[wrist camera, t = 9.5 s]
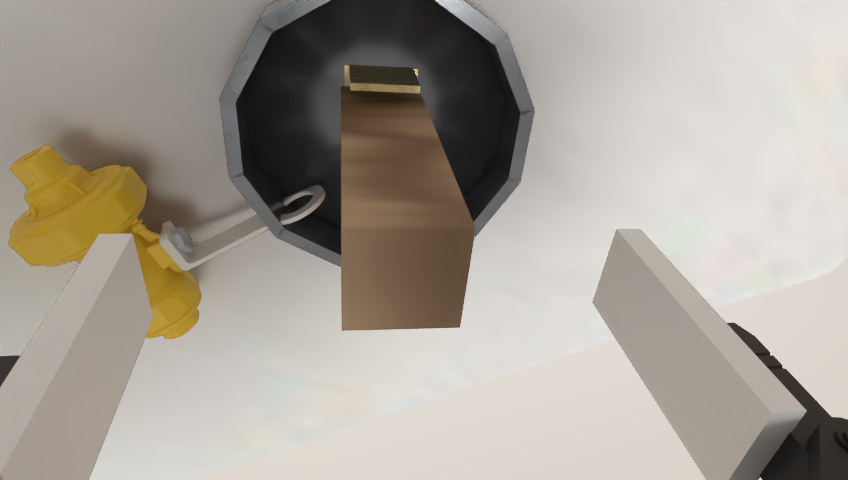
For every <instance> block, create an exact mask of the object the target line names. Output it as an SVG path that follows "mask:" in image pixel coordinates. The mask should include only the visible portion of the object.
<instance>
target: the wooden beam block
mask: <svg viewBox="0 0 848 480" xmlns="http://www.w3.org/2000/svg"><path fill="white" fill-rule="evenodd" d="M474 235H475V225H474V223H473V220H472V218H471V216H470V213H469V211H468V208H467V206H466V203H465V201H464V198H463V196H462V193H461V191H460V188H459V186H458V184H457V181H456V179H455V176H454V174H453V171H452V169H451V166H450V164H449V161H448V159H447V157H446V154H445V152H444V149H443V147H442V144H441V142H440V139H439V137H438V134H437V132H436V129H435V127H434V125H433V122H432V120H431V117H430V115H429V112H428V110H427V107H426V105H425V102H424V100H423V98H422V95H421V93H400V92H377V91H354V90H350V86H341V283H342V331H343V330H381V329H419V328H457V327H460V323H461V316H462V310H463V304H464V297H465V291H466V285H467V279H468V272H469V266H470V260H471V253H472V247H473V241H474Z"/></svg>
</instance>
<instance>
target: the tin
mask: <svg viewBox="0 0 848 480" xmlns="http://www.w3.org/2000/svg"><path fill="white" fill-rule="evenodd" d="M341 86H350V90H354V91H377V92H400V93H421V95H422V98H423V100H424V102H425V105H426V107H427V110H428V112H429V115H430V117H431V120H432V122H433V125H434V127H435V129H436V132H437V134H438V137H439V139H440V142H441V144H442V147H443V149H444V152H445V154H446V157H447V159H448V161H449V164H450V166H451V169H452V171H453V174H454V176H455V179H456V181H457V184H458V186H459V188H460V191H461V193H462V196H463V198H464V201H465V203H466V206H467V208H468V211H469V213H470V216H471V218H472V220H473V223H474V225H475V235H474V236H475V237H476V236H477V234H478V233H479V232H480V231H481V230H482V228H483V227H484V226H485V225H486V224H487V222H488V221H489V220H490V219H491V217H492V216H493V215H494V214H495V213H496V211H497V210H498V209H499V208H500V207H501V205H502V204H503V203H504V202H505V201H506V199H507V198H508V197H509V196H510V194H511V193H512V192H513V191H514V190H515V188H516V187H517V186H518V185H519V184H520V183H519V182H520V181H521V176H522V171H523V166H524V161H525V156H526V152H527V147H528V142H529V137H530V132H531V127H532V122H533V117H534V112H535V111H534V107H533V104H532V101H531V98H530V95H529V93H528V90H527V87H526V84H525V81H524V79H523V76H522V73H521V70H520V68H519V65H518V62H517V59H516V56H515V54H514V51H513V48H512V45H511V43H510V40H509V37H508V35H507V34H506V33H505V32H504V31H503V30H502V29H500V28H499V27H498V26H497V25H496V24H494V23H493V22H492V21H491V20H490V19H489V18H487V17H486V16H485V15H483V14H482V13H481V12H479V11H478V10H477V9H475V8H474V7H473V6H472V5H470V4H469V3H468V2H466V1H465V0H276V1H274V2H272V3H270V4H269V5H268V6H267V7H266V9H265V11H264V12H263V14H262V15H261V17H260V19H259V20H258V22H257V24H256V26H255V28H254V30H253V32H252V34H251V36H250V38H249V40H248V42H247V44H246V46H245V48H244V50H243V52H242V54H241V56H240V58H239V60H238V62H237V64H236V66H235V68H234V70H233V71H232V73H231V75H230V77H229V79H228V81H227V83H226V85H225V87H224V89H223V91H222V93H221V95H220V98H219V100H220V108H221V116H222V125H223V133H224V141H225V149H226V157H227V166H228V174H229V177H230V180H231V181H232V182H233V183H234V185H235V186H236V187H237V189H238V190H239V191H240V192H241V194H242V195H243V196H244V198H245V199H246V200H247V201H248V203H249V204H250V205H251V207H252V208H253V209H254V210H255V212H256V213H257V214H258V216H259V217H260V218H261V219H262V221H263V222H264V223H265V225H266V226H267V227H268V228H269V230H270V231H271V232H272V233H273V235H274V236H276V238H278V239H280V240H283V241H285V242H287V243H289V244H291V245H294V246H296V247H298V248H300V249H302V250H305V251H307V252H309V253H311V254H313V255H316V256H318V257H320V258H322V259H324V260H326V261H329V262H331V263H333V264H335V265H337V266H340V267H341ZM313 185H320V186H321V187H322V188H323V189H324V191H325V198H324V200H323V201H322V203H321V204H320V205H319V206H318V207H317V208H316V209H315V210H314V211H313V212H311V213H310V214H308V215H307V216H305V217H303V218H301V219H300V220H298V221H295V222H292V223H290V224H285V225H282V223H281V222H280V218H281V214H289V213H293V212H295V211H297V210H299V209H301V208H302V207H304V206H305V205H306V204H307V203H308V202H310V200H311V199H312V197H313V195H304V196H301V197H299V198H297V199H295V200H293V201H292V202H290V203H289V204H288V205H287V206H286V205H285V204H284V198H285V197H288V196H290V195H292V194H295V193H297V192H299V191H302V190H304V189H306V188H309V187H311V186H313Z"/></svg>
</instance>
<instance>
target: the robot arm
mask: <svg viewBox="0 0 848 480" xmlns="http://www.w3.org/2000/svg"><path fill="white" fill-rule="evenodd" d="M593 304H594V306H595V307H596V309H597V310H598V312H599V313H600V315H601V316H602V318H603V320H604V321H605V323H606V324H607V326H608V327H609V329H610V330H611V332H612V334H613V335H614V337H615V338H616V340H617V341H618V343H619V344H620V346H621V347H622V349H623V351H624V352H625V354H626V355H627V357H628V359H629V360H630V362H631V363H632V365H633V366H634V368H635V369H636V371H637V372H638V374H639V376H640V377H641V379H642V380H643V382H644V384H645V385H646V387H647V388H648V390H649V391H650V393H651V394H652V396H653V397H654V399H655V401H656V402H657V404H658V405H659V407H660V408H661V410H662V412H663V413H664V415H665V416H666V418H667V419H668V421H669V422H670V424H671V426H672V427H673V429H674V430H675V432H676V433H677V435H678V437H679V438H680V440H681V441H682V443H683V444H684V446H685V447H686V449H687V450H688V452H689V454H690V455H691V457H692V458H693V460H694V462H695V463H696V465H697V466H698V468H699V469H700V471H701V472H702V474H703V475H704V477H705V479H706V480H758V479H759V478H760V477H761V478H762V480H848V420H847V419H843V418H835V417H831V416H830V415H829V414H828V413H827V412H826V411H825V410H824V409H823V408H822V407H821V406H820V404H819V403H818V402H817V401H816V400H815V399H814V398H813V397H812V396H811V395H810V394H809V393H808V392H807V391H806V390H805V389H804V388H803V387H802V386H801V385H800V384H799V382H798V381H797V380H796V379H795V378H794V377H793V376H792V375H791V374H790V373H789V372H788V371H787V370H786V369H783V368H782V365H781V363H779V361H778V360H777V359H776V358H775V357H774V356H770V352H769V351H768V350H767V349H766V348H765V347H764V346H763V345H762V344H761V342H760V341H759V340H758V339H757V338H756V337H755V336H753V335H752V334H750V333H749V332H747V331H746V330H744V329H743V328H741V327H740V326H738V325H737V324H735V323H726V322H725V321H724V320H723V319H722V318H721V317H720V316H719V314H718V313H717V312H716V311H715V310H714V309H713V308H712V307H711V306H710V305H709V303H708V302H707V301H706V300H705V299H704V298H703V297H702V296H701V295H700V294H699V293H698V291H697V290H696V289H695V288H694V287H693V286H692V285H691V284H690V283H689V282H688V281H687V279H686V278H685V277H684V276H683V275H682V274H681V273H680V272H679V271H678V270H677V269H676V267H675V266H674V265H673V264H672V263H671V262H670V261H669V260H668V259H667V258H666V257H665V255H664V254H663V253H662V252H661V251H660V250H659V249H658V248H657V247H656V246H655V245H654V243H653V242H652V241H651V240H650V239H649V238H648V237H647V236H646V235H645V234H644V233H643V231H642V230H641V229H616V232H615V235H614V238H613V241H612V244H611V247H610V250H609V254H608V257H607V260H606V263H605V266H604V269H603V272H602V275H601V278H600V281H599V284H598V287H597V290H596V293H595V296H594V299H593ZM152 319H153V314H152V310H151V306H150V302H149V298H148V294H147V290H146V286H145V282H144V278H143V274H142V270H141V266H140V262H139V257H138V253H137V249H136V245H135V241H134V237H133V234H99V235H98V237H97V238H96V240H95V241H94V243H93V244H92V246H91V247H90V249H89V251H88V252H87V254H86V255H85V257H84V258H83V260H82V261H81V263H80V265H79V266H78V268H77V269H76V271H75V272H74V274H73V275H72V277H71V278H70V280H69V282H68V283H67V285H66V286H65V288H64V289H63V291H62V292H61V294H60V295H59V297H58V299H57V300H56V302H55V303H54V305H53V306H52V308H51V309H50V311H49V312H48V314H47V316H46V317H45V319H44V320H43V322H42V323H41V325H40V326H39V328H38V329H37V331H36V333H35V334H34V336H33V337H32V339H31V340H30V342H29V343H28V345H27V347H26V348H25V350H24V351H23V353H22V354H21V356H0V480H89V478H90V476H91V473H92V470H93V468H94V465H95V463H96V460H97V458H98V455H99V453H100V450H101V448H102V445H103V443H104V440H105V438H106V435H107V433H108V430H109V428H110V425H111V423H112V420H113V418H114V415H115V413H116V410H117V407H118V405H119V402H120V400H121V397H122V395H123V392H124V390H125V387H126V385H127V382H128V380H129V377H130V375H131V372H132V370H133V367H134V365H135V362H136V360H137V357H138V355H139V352H140V350H141V347H142V344H143V342H144V339H145V337H146V334H147V332H148V329H149V327H150V324H151V322H152Z"/></svg>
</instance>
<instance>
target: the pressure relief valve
mask: <svg viewBox="0 0 848 480" xmlns="http://www.w3.org/2000/svg"><path fill="white" fill-rule="evenodd" d="M10 170H11V171H12V172H13V173H14V175H15V176H16V177H17V178H18V179H19V180H20V181H21V182H22V183H23V184H24V186H25V187H26V188H27V190H28V191H27V192H26V194H25V196H24V199H25V200H26V202H27V203H28V204H29V207H30V209H29V210H28V211H26V212H25V213H24V214H23V215H22V216H21V217H20V218H19V219H18V220H17V221H16V222H15V223H14V224H13V226H12V228H11V231H10V234H11V237H10V239H9V242H8V244H9V246H10V247H11V248H12V249H14V250H15V251H16V252H17V253H18V254H19V255H20V256H21V257H22V258H23V259H24V260H25V261H26V262H27V263H28V264H29V265H31V266H40V265H43V266H56V265H61V264H65V263H68V262H72V261H74V260H75V261H77V262H78V263H81V261H82V260H83V258H84V257H85V255H86V254H87V252H88V251H89V249H90V247H91V246H92V244H93V243H94V241H95V240H96V238H97V237H98V235H99V234H133V237H134V241H135V245H136V249H137V253H138V257H139V262H140V266H141V270H142V274H143V278H144V282H145V286H146V290H147V294H148V298H149V302H150V306H151V310H152V314H153V319H152V322H151V324H150V327H149V329H148V332H147V334H146V337H145V338H154V337H158V336H161V335H163V336H164V337H165V338H166V339H173V338H177V337H180V336H182V335H183V334H185V333H186V332H188V331H189V330H190V329H191V328H192V327H193V326H194V325H195V324H196V323H197V321H198V318H199V310H198V309H197V307H198V305H199V303H200V300H201V291H200V288H199V282H198V281H197V280H196V279H195V277H194V276H193V275H192V274H191V273H190V272H189V271H188V270H190V269H192V268H194V267H196V266H198V265H200V264H202V263H204V262H206V261H208V260H210V259H212V258H214V257H216V256H218V255H219V254H221V253H223V252H225V251H227V250H229V249H231V248H233V247H235V246H237V245H239V244H241V243H243V242H245V241H247V240H249V239H251V238H253V237H255V236H257V235H258V234H260V233H262V232H264V231H266V230H268V229H269V228H268V227H267V226H266V225H265V223H264V222H263V221H262V219H261V218H260V217H259V216H258V214H257V215H256V216H254V217H252V218H250V219H248V220H246V221H244V222H242V223H240V224H238V225H236V226H234V227H232V228H230V229H228V230H226V231H224V232H222V233H220V234H218V235H216V236H214V237H212V238H210V239H209V240H207V241H205V242H203V243H201V244H199V245H197V246H194V245H193V242H192V239H191V237H190V236H189V234H188V233H187V232H186V231H185V230H184V229H183V228H181V227H177V228H175V226H174V225H173V224H172V223H171V221H170V220H169V221H167V222H165V223H163V224H162V226H163V227H162V232H161V234H159V233H155V232H153V231H150V230H148V229H147V228H146V224H145V222H144V221H143V220H142V219H139V220H138V215H139V214H140V212H141V211H142V209H143V208H144V206H145V203H146V194H147V186H146V185H145V184H144V182H143V181H142V180H141V179H140V177H139V176H138V175H137V174H136V172H135V171H134V170H133V168H132V167H128V166H125V167H122V166H120V165H109V166H105V167H102V168H99V169H96V170H94V171H91V172H90V171H88V170H85V169H83V168H82V167H81V166H80V165H68V164H67V163H66V162H65V161H64V160H63V158H62V157H61V156H60V155H59V154H58V153H57V152H56V150H55V149H54V148H53V147H52V146H49V145H47V146H43V147H40V148H38V149H36V150H34V151H32V152H30V153H28V154H27V155H25V156H23V157H22V158H20V159H18V160H17V161H16V162H14V163H13V164H12V165H11V166H10ZM304 195H313V197H312V199H311V200H310V202H308V203H307V204H306V205H305V206H304V207H302V208H301V209H299V210H297V211H295V212H293V213H289V214H281V218H280V222H281V223H282V225H285V224H290V223H292V222H295V221H298V220H300V219H301V218H303V217H305V216H307V215H308V214H310V213H311V212H313V211H314V210H315V209H316V208H317V207H318V206H319V205H320V204H321V203H322V201H323V200H324V198H325V191H324V189H323V188H322V187H321V186H320V185H313V186H311V187H309V188H306V189H304V190H302V191H299V192H297V193H295V194H292V195H290V196H288V197H285V198H284V204H285V205H286V206H287V205H288V204H289V203H290V202H292V201H293V200H295V199H297V198H299V197H301V196H304Z"/></svg>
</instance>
